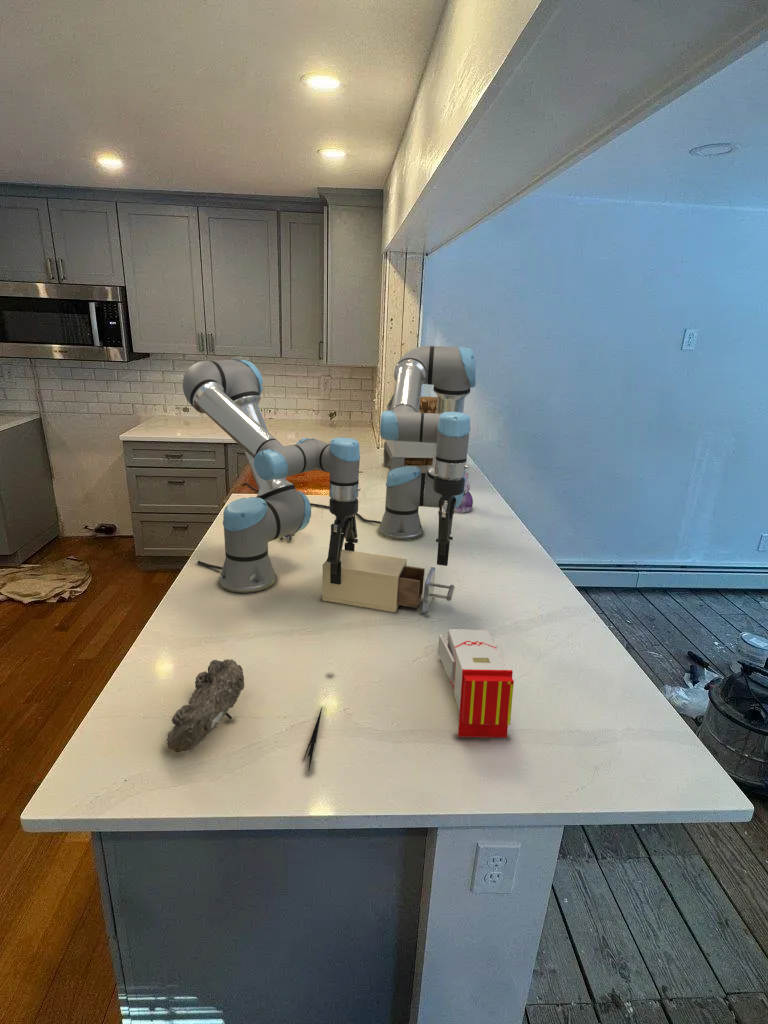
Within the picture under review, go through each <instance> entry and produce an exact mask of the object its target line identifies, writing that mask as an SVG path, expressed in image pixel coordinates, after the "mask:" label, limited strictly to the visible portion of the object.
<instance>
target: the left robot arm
mask: <svg viewBox="0 0 768 1024" xmlns="http://www.w3.org/2000/svg"><path fill="white" fill-rule="evenodd" d="M263 384H264V381H263V377H262V374H261V372H260V370H259V369H258V367H257V366H256V364H254V363H253V362H251V361H249V360H247V359H239V358H231V359H221V360H202V361H198V362H195V363H194V364H192V365H191V366H190V367H188V368H187V370H186V371H185V373H184V375H183V379H182V392H183V394H184V395H183V396H185V399H186V400H187V402H188V404H189V405H190V406H191V407H192V408H193V409H195V411H197V412H198V413H200V414H204V415H206V416H207V417H209V418H210V420H212V421H213V422H214V423H215V424H216V425H217V426H218V427H219V428H220V429H221V430H222V431H223V432H225V434H227V436H229V437H230V438H231V439H232V440H233V441H234V442H236V444H237V445H239V446H240V447H241V448H242V450H243V452H244V455H245V458H246V460H247V463H248V466H249V468H250V471H251V473H252V476H253V479H254V481H255V484H256V486H257V490H258V491H259V492H257V494H256V496H249V497H242V498H238V499H235V500H233V501H231V502H229V503H228V504H227V505H226V506H225V507H224V510H223V519H222V526H223V534H224V535H223V536H224V553H225V554H224V555H225V557H224V558H225V559H224V561H223V563H222V566H219V565H216V564H215V565H214V564H210V563H207V562H203V561H201V560H197V564H199V565H201V566H204V567H207V568H211V569H216V570H220V571H221V572H220V575H219V583H220V586H221V587H222V588H223V589H224V590H226V591H228V592H232V593H238V594H249V593H257V592H260V591H264V590H266V589H268V588H270V587H272V586H273V585H274V584H275V582H276V571H275V568H274V566H273V563H272V561H271V558H270V556H269V543H270V542H272V541H275V540H278V539H280V538H281V537H283V538H285V537H284V536H287V535H290V534H294V533H295V534H296V533H298V532H300V531H302V530H304V529H305V528H307V527H308V526H309V523H310V522H311V517H312V505H310V503H311V502H310V500H309V498H308V496H307V495H306V494H304V492H302V491H299V490H297V489H296V486H295V484H294V483H293V482H290V481H289V480H287V478H288V477H292V476H295V475H300V474H304V473H308V472H312V471H321V472H324V473H329V487H328V488H329V490H328V491H329V493H328V495H329V496H328V497H329V502H328V503H329V504H328V506H329V508H328V509H329V513H330V514H331V515H334V516H335V519H334V521H333V523H331V524H330V536H329V543H328V544H329V545H328V552H327V558H326V560H327V562H331V563H330V583H332V584H339V585H340V584H341V561H340V558H341V552H342V550H343V548H344V550H349V551H356V550H355V545H356V544H358V542H359V539H358V529H357V520H356V519H357V518H356V515H355V514H356V513H358V512H359V499H358V498H359V492H360V491H361V487H359V484H360V479H359V477H360V459H361V454H360V453H361V451H360V450H361V449H360V443H359V441H358V440H357V439H355V438H352V437H342V436H341V437H334V438H332V439H331V440H330V441H329V442H327V441H323V440H319V439H317V438H313V437H312V438H308V437H303V438H301V439H299V440H298V441H297V442H296V443H295V444H289V445H284V444H282V443H281V442H280V441H279V440H278V439H277V438H276V437H275V436H274V435H272V434H271V433H270V432H269V431H268V428H267V425H266V422H265V420H264V417H263V414H262V412H261V409H260V407H259V404H260V402H261V400H262V398H261V394H262V392H263V391H264V386H263ZM344 541H345V542H344ZM343 546H344V547H343Z"/></svg>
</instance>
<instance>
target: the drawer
mask: <svg viewBox="0 0 768 1024" xmlns="http://www.w3.org/2000/svg"><path fill="white" fill-rule="evenodd" d="M425 571H426V570H425V568H424V567H417V566H409V565H406V566H404V568H403V570H402V572H401V574H400V576H399V578H398V595H397V605H399V606H403V607H409V608H416V609H418V607H419V604H420V602H421V599H423V600H422V613H425V614H426V613H428V611H429V608H430V605H431V602H432V599H433V598H438V599H445V600H446V601H447V602H450V601H452V598H453V594H454V591H455V585H454V584H450V585H445V584H439V583H435V578H436V567H435V566H431V567H430V569H429V571H428V574H427V577H426V579H425V573H426V572H425ZM435 588H442V589H448V590H447V593H446V595H443V594H437V593H434V590H435ZM422 597H423V598H422Z"/></svg>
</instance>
